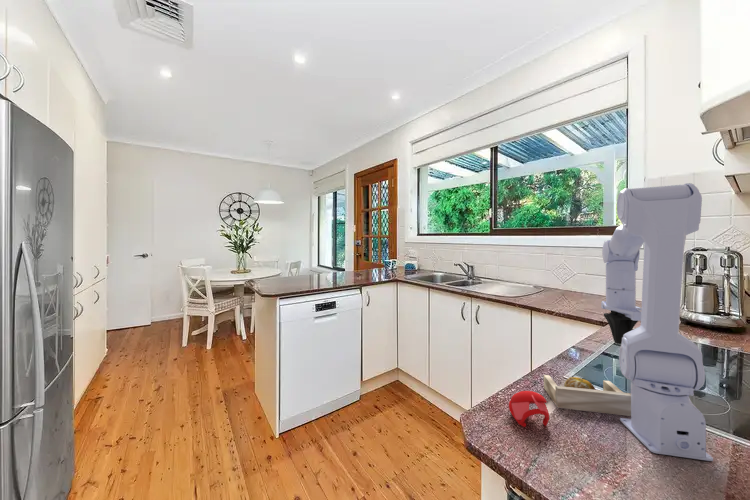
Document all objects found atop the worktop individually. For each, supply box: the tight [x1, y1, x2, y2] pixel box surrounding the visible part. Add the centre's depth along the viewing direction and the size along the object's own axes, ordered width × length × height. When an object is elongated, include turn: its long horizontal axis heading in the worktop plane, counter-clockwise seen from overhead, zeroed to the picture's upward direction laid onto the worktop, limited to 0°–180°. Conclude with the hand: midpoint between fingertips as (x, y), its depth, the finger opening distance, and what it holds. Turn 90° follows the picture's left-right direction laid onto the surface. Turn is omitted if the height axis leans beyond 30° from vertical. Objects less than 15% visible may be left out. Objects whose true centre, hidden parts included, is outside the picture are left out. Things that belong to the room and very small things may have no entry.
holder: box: [543, 374, 631, 417], centre depth 63 cm, size 9×13×4 cm
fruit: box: [563, 376, 596, 390], centre depth 65 cm, size 8×8×4 cm
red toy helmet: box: [508, 390, 550, 428], centre depth 56 cm, size 8×6×6 cm
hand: (620, 343), depth 73 cm, fingers closed
